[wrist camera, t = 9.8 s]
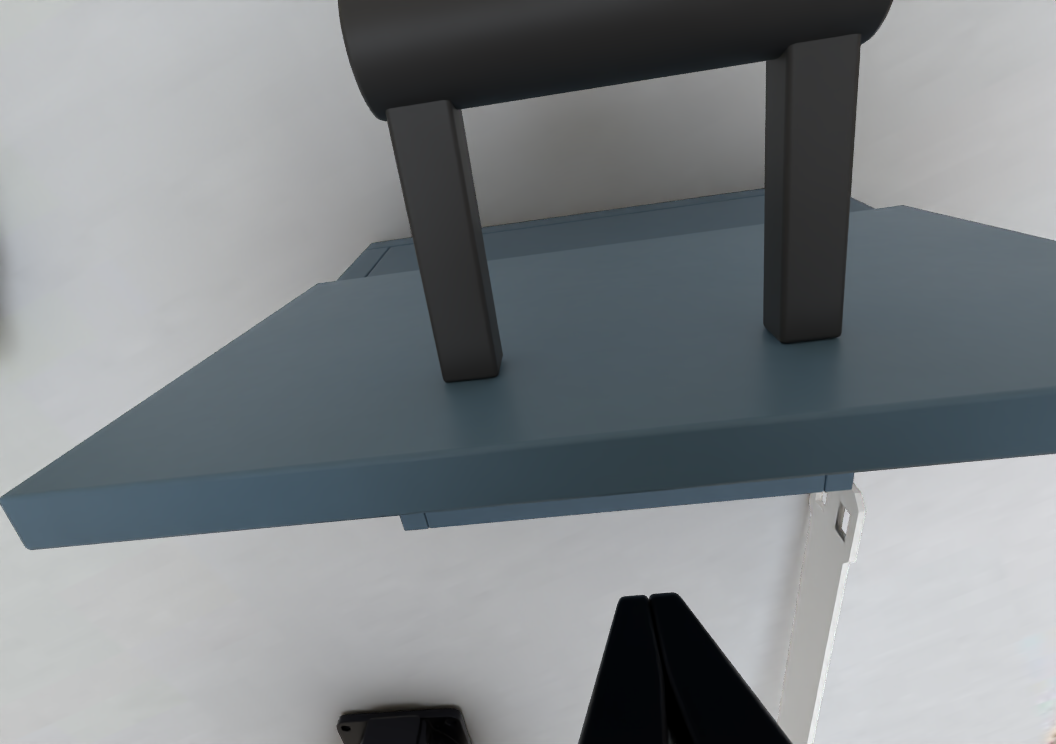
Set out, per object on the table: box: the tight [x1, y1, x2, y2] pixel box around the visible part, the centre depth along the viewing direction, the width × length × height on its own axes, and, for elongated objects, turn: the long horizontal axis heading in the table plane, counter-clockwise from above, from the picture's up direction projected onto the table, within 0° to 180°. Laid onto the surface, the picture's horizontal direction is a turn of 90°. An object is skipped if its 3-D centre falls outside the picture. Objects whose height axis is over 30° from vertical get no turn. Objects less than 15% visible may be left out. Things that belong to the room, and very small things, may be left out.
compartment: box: [337, 188, 875, 531], centre depth 18 cm, size 8×14×4 cm, turn 98°
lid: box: [0, 0, 1056, 550], centre depth 9 cm, size 9×14×5 cm
